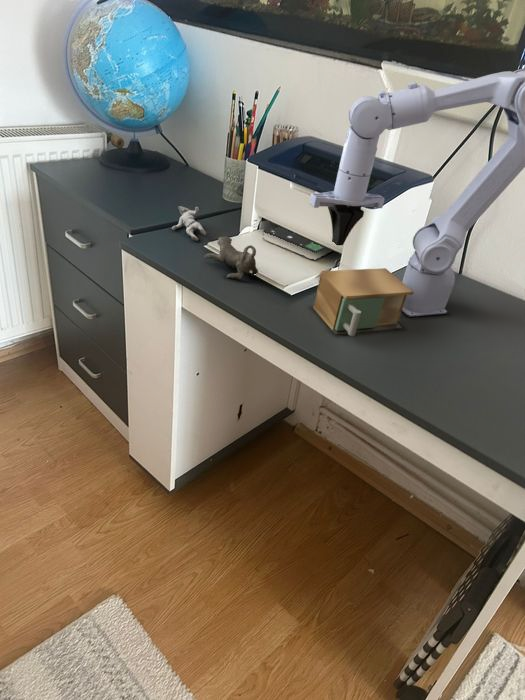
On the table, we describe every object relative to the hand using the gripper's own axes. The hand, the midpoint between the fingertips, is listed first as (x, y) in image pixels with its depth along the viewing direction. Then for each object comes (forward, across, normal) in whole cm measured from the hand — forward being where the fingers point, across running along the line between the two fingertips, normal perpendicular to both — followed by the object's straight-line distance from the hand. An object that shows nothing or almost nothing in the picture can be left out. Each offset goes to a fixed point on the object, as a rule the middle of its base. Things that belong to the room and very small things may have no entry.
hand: (337, 243), depth 100 cm
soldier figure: (+11, +20, -31) cm, 38 cm away
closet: (+10, -1, +10) cm, 14 cm away
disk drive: (+11, -4, -22) cm, 25 cm away
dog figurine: (+11, +17, -10) cm, 22 cm away
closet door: (+10, +2, +16) cm, 19 cm away
